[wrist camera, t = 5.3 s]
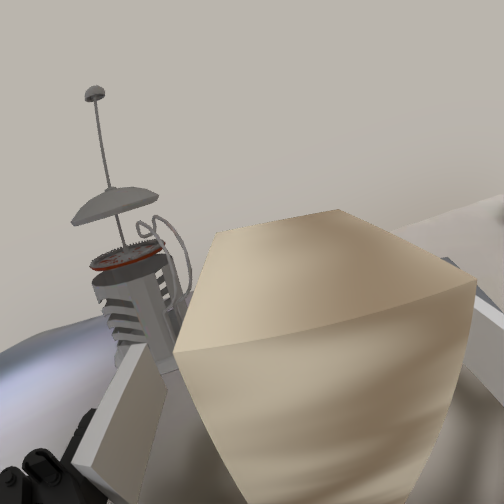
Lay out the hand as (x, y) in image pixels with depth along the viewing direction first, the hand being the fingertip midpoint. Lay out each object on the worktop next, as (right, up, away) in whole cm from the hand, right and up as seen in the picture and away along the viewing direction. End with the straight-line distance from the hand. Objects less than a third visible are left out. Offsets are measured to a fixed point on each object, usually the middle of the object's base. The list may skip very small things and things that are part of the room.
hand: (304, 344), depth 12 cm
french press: (-10, -6, +15) cm, 19 cm away
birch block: (+1, -7, -1) cm, 8 cm away
